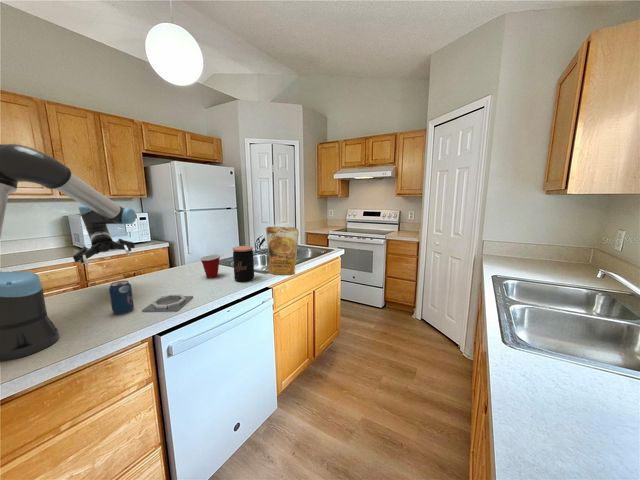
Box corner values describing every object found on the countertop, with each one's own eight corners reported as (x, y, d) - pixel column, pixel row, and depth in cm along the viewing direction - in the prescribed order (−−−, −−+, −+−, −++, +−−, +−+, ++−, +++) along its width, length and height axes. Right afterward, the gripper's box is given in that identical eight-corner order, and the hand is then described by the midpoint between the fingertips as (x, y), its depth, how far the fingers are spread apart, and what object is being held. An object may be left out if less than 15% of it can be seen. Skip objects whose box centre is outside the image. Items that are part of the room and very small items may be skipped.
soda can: (135, 311, 103) (131, 283, 101) (113, 316, 99) (109, 287, 97) (133, 305, 109) (129, 278, 106) (112, 310, 104) (107, 282, 102)
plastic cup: (201, 275, 149) (199, 255, 147) (221, 272, 154) (219, 253, 152) (201, 281, 140) (199, 259, 137) (222, 278, 144) (221, 257, 142)
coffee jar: (230, 280, 140) (228, 248, 137) (244, 275, 149) (242, 245, 146) (244, 283, 135) (243, 250, 132) (258, 278, 145) (257, 247, 141)
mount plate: (142, 311, 103) (141, 307, 103) (162, 297, 117) (161, 293, 116) (177, 311, 103) (177, 306, 103) (193, 297, 117) (192, 293, 117)
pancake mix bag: (269, 271, 158) (268, 226, 153) (299, 272, 154) (298, 226, 149) (265, 274, 151) (263, 227, 146) (296, 276, 148) (295, 228, 143)
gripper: (136, 241, 126) (146, 256, 112) (68, 257, 111) (70, 277, 97) (132, 227, 123) (141, 241, 109) (61, 241, 108) (62, 259, 94)
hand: (108, 258), depth 103 cm, fingers open, 13 cm apart
